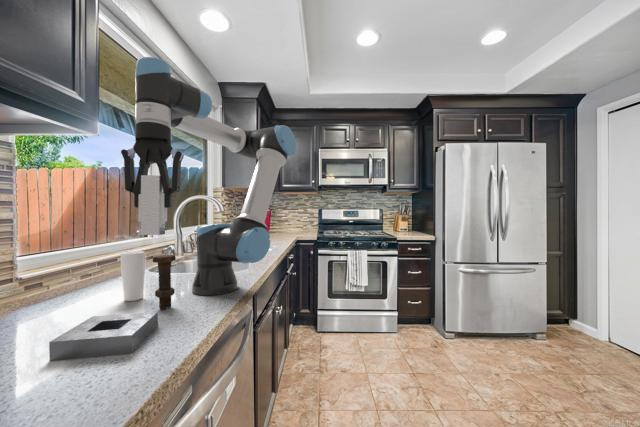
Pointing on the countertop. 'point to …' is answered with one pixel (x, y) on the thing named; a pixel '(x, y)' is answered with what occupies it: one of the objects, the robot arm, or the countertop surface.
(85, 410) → the countertop surface
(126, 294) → the drinking glass
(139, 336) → the socket block
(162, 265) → the bolt
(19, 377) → the countertop surface
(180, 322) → the countertop surface
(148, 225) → the peg
